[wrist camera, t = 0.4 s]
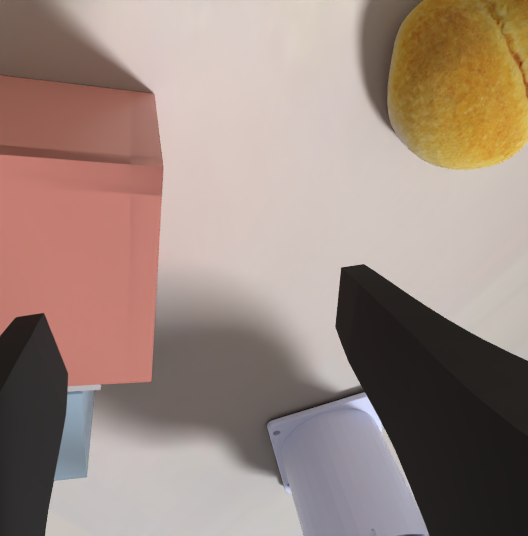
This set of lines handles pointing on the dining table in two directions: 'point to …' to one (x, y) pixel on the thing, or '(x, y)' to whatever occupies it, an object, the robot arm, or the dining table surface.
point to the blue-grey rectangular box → (75, 436)
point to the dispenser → (82, 223)
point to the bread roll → (461, 82)
